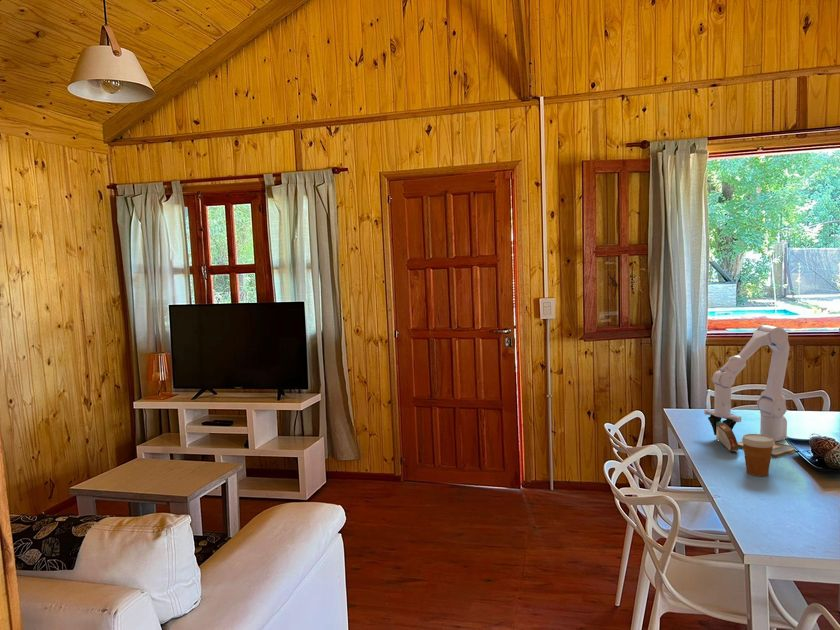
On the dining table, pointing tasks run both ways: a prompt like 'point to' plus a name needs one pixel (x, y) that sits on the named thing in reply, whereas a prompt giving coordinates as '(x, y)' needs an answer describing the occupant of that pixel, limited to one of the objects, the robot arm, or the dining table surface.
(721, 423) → the beige cylinder
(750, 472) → the disposable coffee cup
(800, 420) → the dining table surface
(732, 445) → the tin
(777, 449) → the slate board
